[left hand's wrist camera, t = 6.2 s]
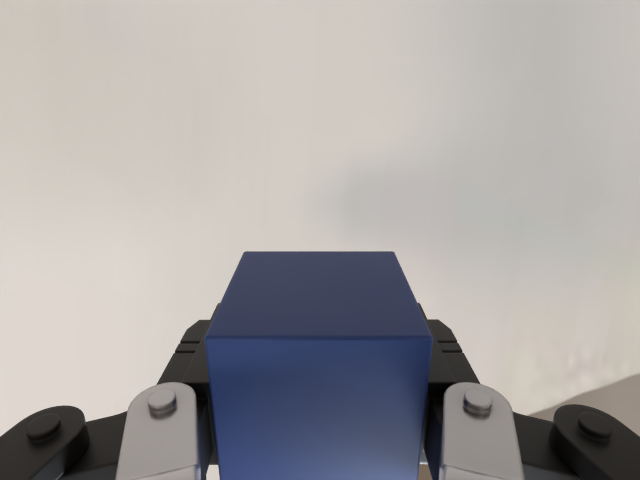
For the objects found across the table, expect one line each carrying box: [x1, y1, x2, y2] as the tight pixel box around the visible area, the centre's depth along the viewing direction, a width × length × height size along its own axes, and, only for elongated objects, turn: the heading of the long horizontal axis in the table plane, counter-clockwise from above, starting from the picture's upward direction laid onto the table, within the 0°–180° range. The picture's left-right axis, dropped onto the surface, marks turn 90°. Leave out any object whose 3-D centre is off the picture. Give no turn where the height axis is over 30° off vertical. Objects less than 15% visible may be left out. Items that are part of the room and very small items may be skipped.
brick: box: [204, 252, 433, 480], centre depth 11 cm, size 5×4×4 cm
